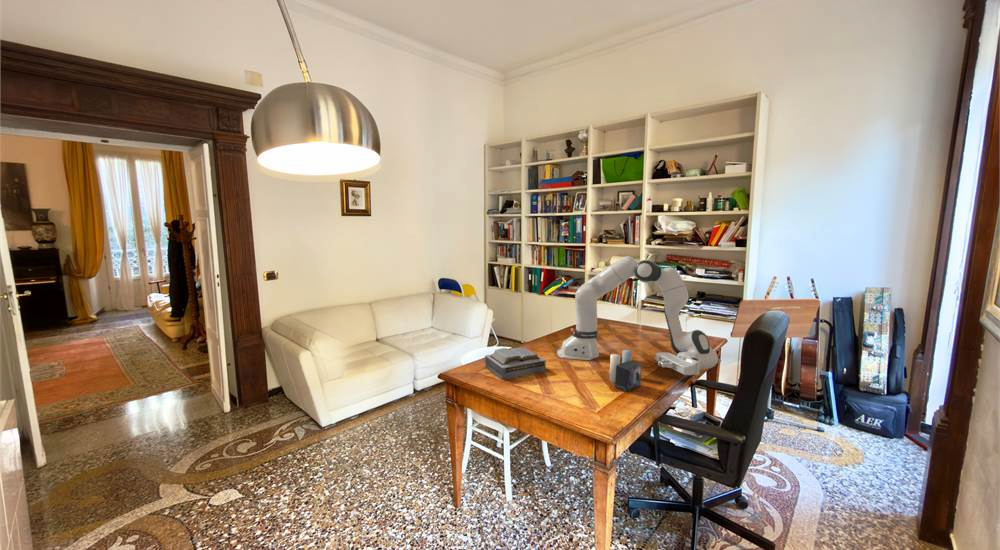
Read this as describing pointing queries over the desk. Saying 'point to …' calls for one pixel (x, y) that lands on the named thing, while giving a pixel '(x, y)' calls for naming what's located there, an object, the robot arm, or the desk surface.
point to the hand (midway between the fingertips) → (660, 364)
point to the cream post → (613, 366)
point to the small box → (628, 376)
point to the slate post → (626, 355)
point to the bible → (514, 363)
